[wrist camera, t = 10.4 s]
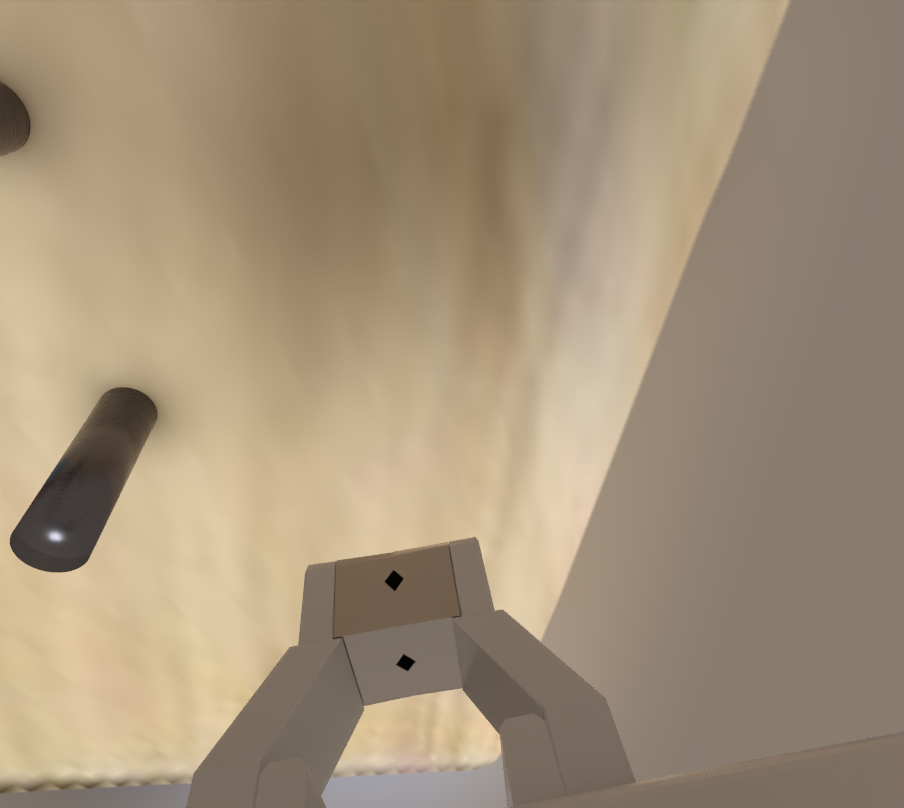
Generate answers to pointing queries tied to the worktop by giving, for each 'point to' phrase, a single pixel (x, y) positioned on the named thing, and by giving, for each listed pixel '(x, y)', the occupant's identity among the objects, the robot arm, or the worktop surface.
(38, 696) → the worktop surface
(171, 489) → the worktop surface
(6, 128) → the post
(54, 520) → the post
